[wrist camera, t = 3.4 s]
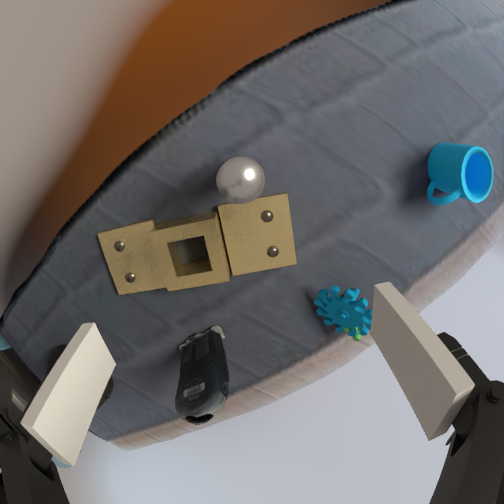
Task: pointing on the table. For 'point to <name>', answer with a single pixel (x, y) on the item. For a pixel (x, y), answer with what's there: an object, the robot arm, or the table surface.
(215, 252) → the hinge leaves
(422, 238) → the table surface
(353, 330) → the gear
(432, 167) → the mug
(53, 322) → the table surface
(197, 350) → the electronic device
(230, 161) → the hinge pin
